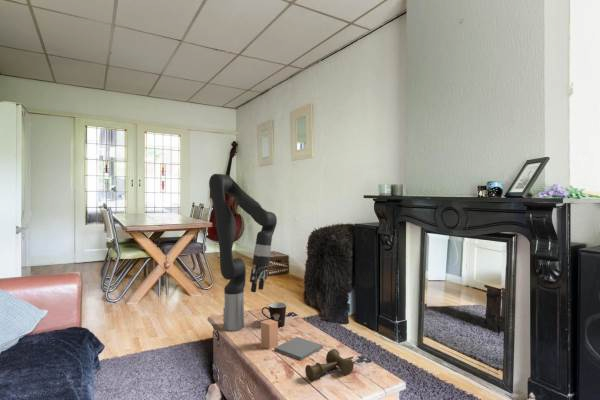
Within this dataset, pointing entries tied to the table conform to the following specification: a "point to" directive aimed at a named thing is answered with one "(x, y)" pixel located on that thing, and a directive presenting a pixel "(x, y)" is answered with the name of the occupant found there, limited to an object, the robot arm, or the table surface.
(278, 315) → the coffee mug
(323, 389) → the table surface
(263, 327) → the terracotta block
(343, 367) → the kendama
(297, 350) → the slate tile
